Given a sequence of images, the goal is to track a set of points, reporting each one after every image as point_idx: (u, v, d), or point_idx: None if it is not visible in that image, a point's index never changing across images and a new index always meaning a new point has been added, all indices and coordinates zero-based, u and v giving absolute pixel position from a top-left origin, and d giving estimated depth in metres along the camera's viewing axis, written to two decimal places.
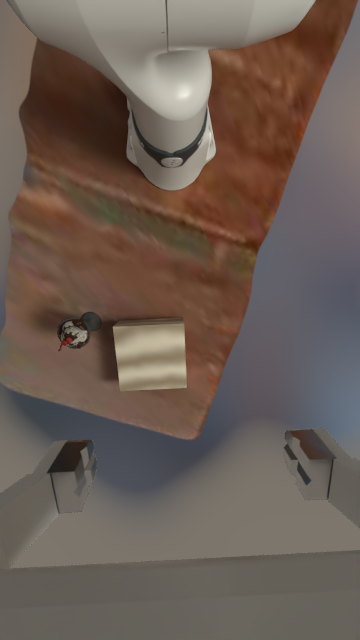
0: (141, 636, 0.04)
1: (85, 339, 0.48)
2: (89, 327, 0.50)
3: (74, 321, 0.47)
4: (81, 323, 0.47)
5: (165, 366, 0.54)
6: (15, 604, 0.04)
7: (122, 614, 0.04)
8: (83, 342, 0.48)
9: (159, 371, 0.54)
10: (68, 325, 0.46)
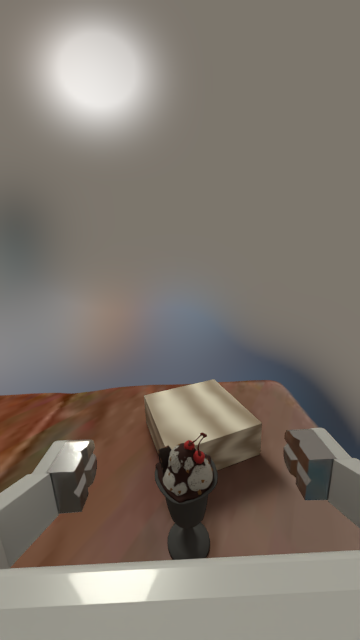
0: (141, 636, 0.04)
1: None
2: None
3: (161, 473, 0.24)
4: None
5: (199, 396, 0.46)
6: (15, 604, 0.04)
7: (122, 614, 0.04)
8: None
9: (208, 398, 0.45)
10: (169, 475, 0.24)
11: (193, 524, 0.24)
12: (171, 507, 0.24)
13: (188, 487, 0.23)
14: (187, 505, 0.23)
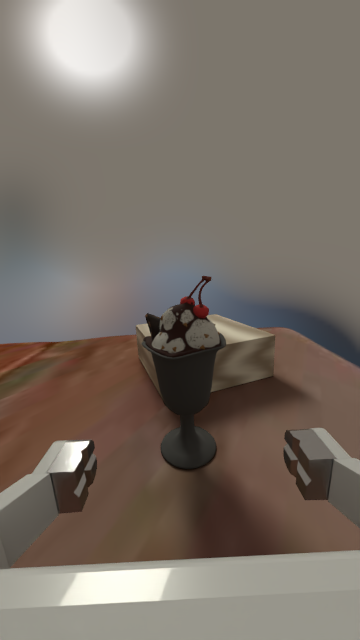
0: (141, 636, 0.04)
1: None
2: None
3: (150, 340, 0.18)
4: None
5: None
6: (16, 603, 0.04)
7: (122, 614, 0.04)
8: None
9: None
10: (161, 334, 0.17)
11: (194, 405, 0.18)
12: (164, 381, 0.17)
13: (186, 343, 0.16)
14: (185, 368, 0.16)
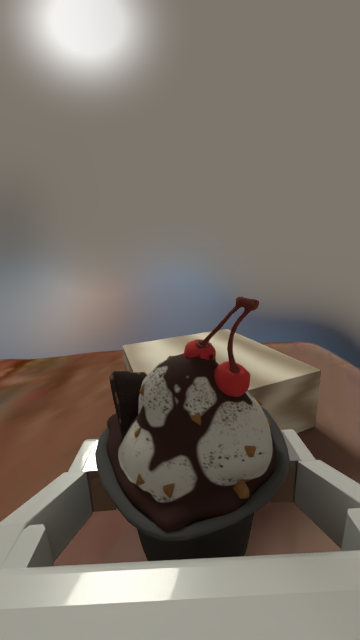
0: (141, 636, 0.04)
1: None
2: None
3: (117, 436, 0.08)
4: None
5: None
6: (15, 604, 0.04)
7: (122, 614, 0.04)
8: None
9: (221, 345, 0.29)
10: (138, 435, 0.07)
11: None
12: (145, 539, 0.07)
13: (200, 473, 0.06)
14: (197, 537, 0.06)
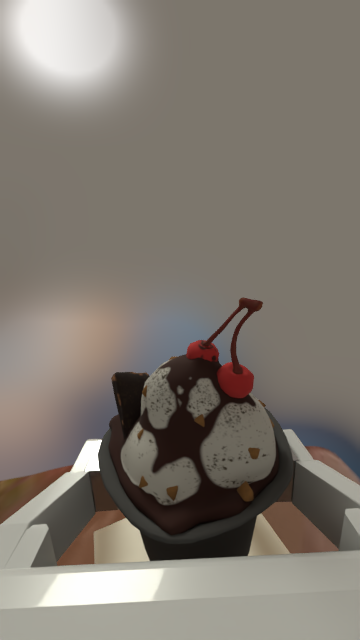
0: (141, 636, 0.04)
1: None
2: None
3: (119, 438, 0.08)
4: None
5: None
6: (15, 604, 0.04)
7: (122, 614, 0.04)
8: None
9: None
10: (141, 437, 0.07)
11: None
12: (148, 541, 0.07)
13: (204, 475, 0.06)
14: (201, 540, 0.06)
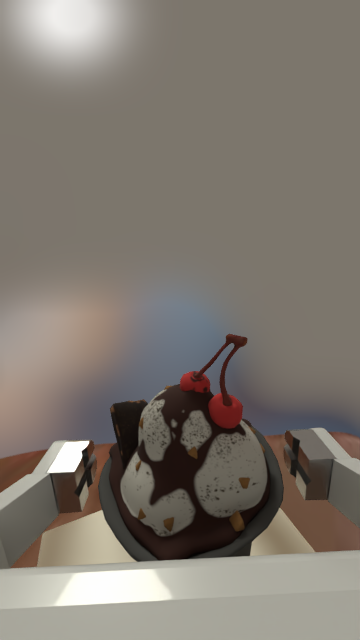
0: (141, 636, 0.04)
1: None
2: None
3: (119, 468, 0.09)
4: None
5: None
6: (15, 604, 0.04)
7: (122, 614, 0.04)
8: None
9: None
10: (139, 468, 0.08)
11: None
12: None
13: (198, 505, 0.07)
14: None
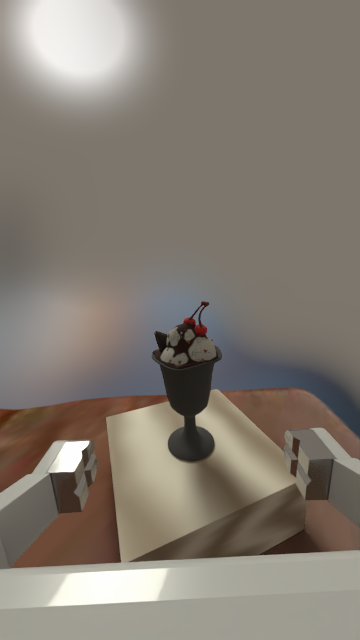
0: (141, 636, 0.04)
1: None
2: None
3: (159, 354, 0.22)
4: None
5: (195, 418, 0.28)
6: (15, 604, 0.04)
7: (122, 614, 0.04)
8: None
9: (208, 422, 0.27)
10: (168, 350, 0.21)
11: (196, 407, 0.21)
12: (170, 388, 0.21)
13: (189, 357, 0.20)
14: (188, 377, 0.20)
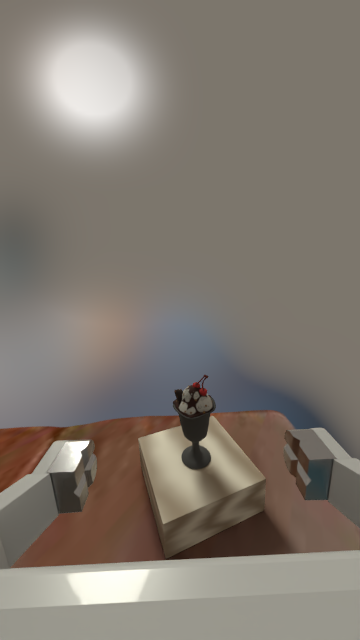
0: (141, 636, 0.04)
1: None
2: None
3: (177, 405, 0.36)
4: None
5: None
6: (15, 604, 0.04)
7: (122, 614, 0.04)
8: None
9: (207, 442, 0.42)
10: (183, 403, 0.35)
11: (200, 437, 0.35)
12: (185, 426, 0.35)
13: (196, 409, 0.34)
14: (196, 421, 0.34)
